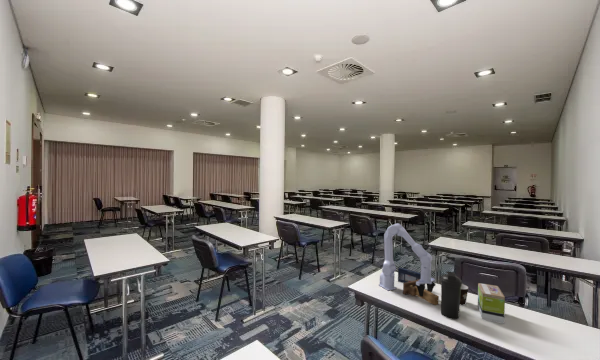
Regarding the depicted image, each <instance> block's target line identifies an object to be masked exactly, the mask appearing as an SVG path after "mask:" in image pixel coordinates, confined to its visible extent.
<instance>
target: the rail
mask: <svg viewBox="0 0 600 360" xmlns="http://www.w3.org/2000/svg"><path fill="white" fill-rule="evenodd" d="M413 287H414V288H415V296H416V297H418V298H419V299H422V300H424V301H426V302H428V303H430V304H432V305H434V306H437V305H439V301H440V300H439V297H440V296H439V295H437V294H435V293H434V292H432V293H431V292H429V291H427V289H426V288H425V289H424V292H423V297H421V296H419V292H418V289H417V287H416V286H413Z"/></svg>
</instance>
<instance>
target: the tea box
mask: <svg viewBox="0 0 600 360" xmlns="http://www.w3.org/2000/svg"><path fill="white" fill-rule="evenodd" d="M503 293H504V292H502V290H501V289H500V287H499V286H498V285H495V284H494V285H493V284H489V283H488V284H487V283H480V282H478V283H477V309H478V311H479V314H480V317H481V319H482V320H485V321H489V322H494V323H497V324H505V309H506V308H505V307H506V306H505V305H506V304H505V303H506V297H505V295H504V294H503Z"/></svg>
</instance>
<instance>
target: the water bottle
mask: <svg viewBox="0 0 600 360" xmlns="http://www.w3.org/2000/svg"><path fill="white" fill-rule="evenodd" d="M462 284H463V281H462V279H461V278H460V277H458V276H457V275H456V272H453V271H446V273H445V274H443V275H442V276H440V286H441V289H440V290H441V291H440V299H441V300H440V301H441V303H440V304H441V306H440V308H441V309H440V310H441V312H440V314H441V315H442V316H443V317H445V318H447V319H451V320H458V319H459V318H460V308H461V307H460V306H461V305H460V294H461V286H462Z"/></svg>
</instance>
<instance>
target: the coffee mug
mask: <svg viewBox="0 0 600 360" xmlns="http://www.w3.org/2000/svg"><path fill="white" fill-rule="evenodd" d="M468 292H469V286H467V285H466V284H464V283H462V286H461V294H460V306H465V305H466V303H467V297H468Z"/></svg>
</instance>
